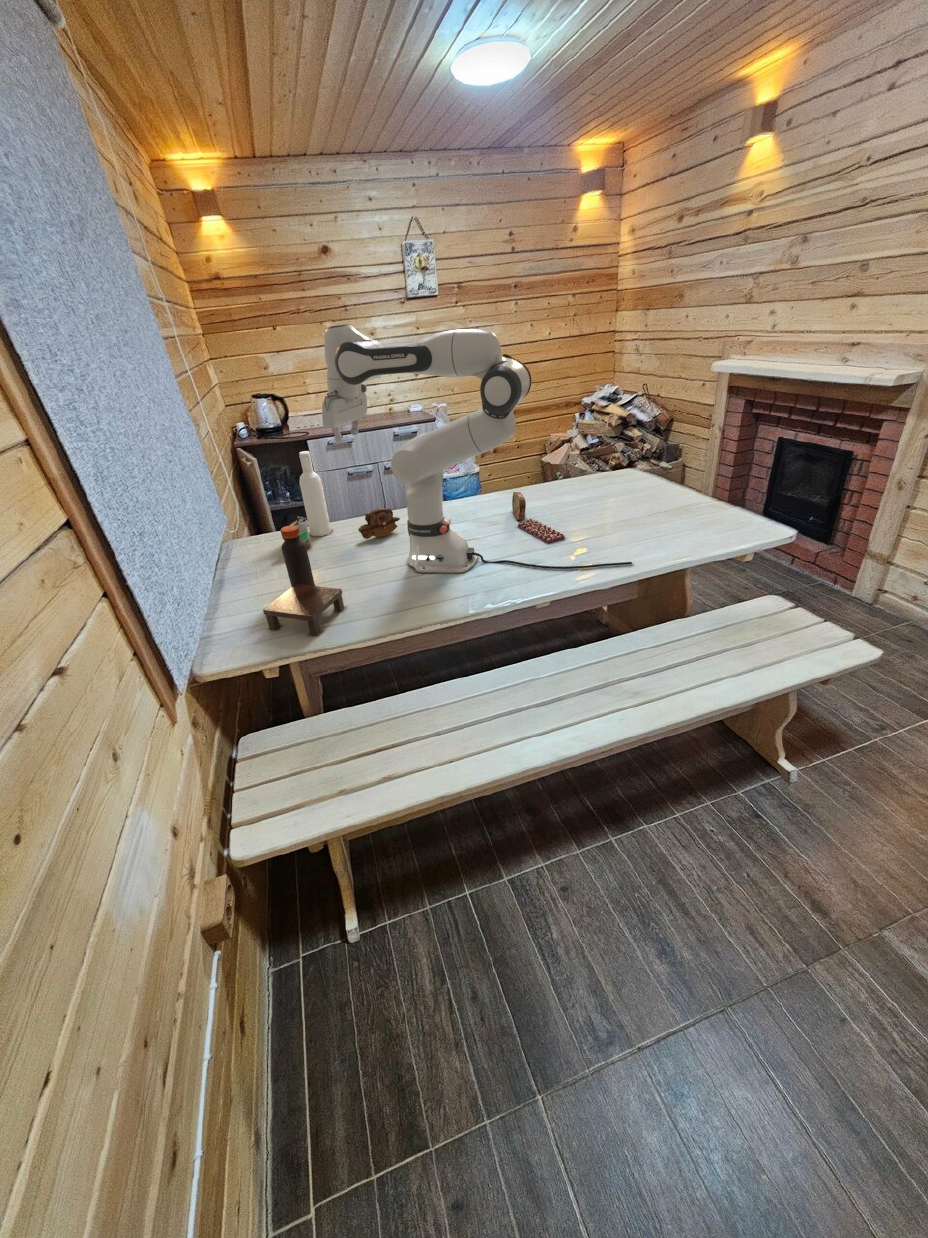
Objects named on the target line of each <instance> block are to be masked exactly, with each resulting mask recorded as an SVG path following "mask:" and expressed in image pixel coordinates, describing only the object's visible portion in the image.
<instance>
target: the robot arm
mask: <svg viewBox="0 0 928 1238" xmlns="http://www.w3.org/2000/svg"><path fill="white" fill-rule="evenodd" d="M323 341H324V342H323V345H324V346H323V347H324V348H323V349H324V361H325V364H326V367H327V369H326V371H327V372H326V384H327V392H326V394H325V396H324V398H323V401H322V404H321V405H322V407H321V416H322V417H321V418H322V425H323V427H324V428H326V429H331V432H332V433H333V435H334V441H335V442H336V443H337V442H338V443H340V442H342V441H344V437H343V436H344V435H343V434H341V433H342V432H341V431H340V430H341V427H342V426H345V425H347V424H349V423H352V424H351V428H350V434H351V435H352V436H357V435H359V427H360V423H361V419H363V418H365V417H366V416H367V412H368V402H367V401H368V400H367V394H366V393H367V392H368V386H367V384H366V383H364V382H368V381H371V380H375V379H378V378H380V377H382V376H385V375H397V374H417V375H426V376H435V377H445V378H460V377H461V378H462V377H476V378H477V379H480V380H481V382H480V386H479V393H480V398H481V406H482V407H481V408H480V409H477V410H476V411H473V412H471V413H468V414H466V415H464V416H461V417H459V418H457V419H455V420H452V421H450V422H447V423H445V424H443V425H442V426H439V427H438V428H435V429H433V430H431V431H428V432H423V433H419V434H418V435H416V436H415V437H413V438H411V439H410V440H408V441H406V442H405V443H403V444H402V445H400V446H399V447H398V448H397V450H396V451H395V452H394V454H393V455H392V457H391V461H390V469H391V472H392V474H393V476H394V477H395V478H396V479H397V480H398V481H399V482H401V483H403V484H408V487H407V490H406V494H405V501H406V513H407V522H406V523H407V532H408V537H409V553H408V559H407V563H408V565H409V566H410V567H412V568H413V569H415V571H416V572H417V573H451V574H452V573H455V574H456V573H465V572H467V571H469V570H470V569H472V567H474V565H475V564H476V562H477V559H478V557H479V558H480V560H481V562H482V563H484V564H503V563H505V564H506V563H507V564H512V565H513V564H514V565H520V566H525V567H531V568H537V569H538V568H539V569H549V570H551V569H552V570H574V569H589V568H591V569H592V568H599V567H600V568H601V567H611V566H624V565H625V566H626V565H632V564H633V561H623V562H610V563H599V564H598V563H597V564H589V565H588V564H587V565H571V566H570V565H569V566H560V565H559V566H556V565H555V566H554V565H540V564H531V563H525V562H520V561H515V560H509V559H507V560H506V559H503V560H494V561H488V560H485V559H484V556H483V555H482V554H480V553H478V552H475V547H469V544H468V542H467V540H466V538H464V537H462V536H461V535H459V534H458V533H457V532H455V531H453V530H452V529H451V528H450V527H451V526H450V524H451V521H452V519H448V520H447V518H445V516H444V509H443V508H444V507H443V483H444V474H445V473H444V472H445V471H446V470H448V469H449V468H452V467H453V466H455V465H457V464H460V463H462V462H464V461H467V460H469V459H472V458H473V457H476V456H479V455H482V454H485V453H486V452H489V451H491V450H493V449H496V448H497V447H499V446H501V445H503V444H504V443H506V442H507V441H509V440H511V439H512V438H513V436H514V435H515V433H516V431H517V420H516V416H515V413H514V412H515V408H516V407H517V406H518V405H520V404H521V402H522V401H523V400H524V399H525V398H526V397H527V396H528V394H529V392H530V390H531V386H532V374H531V372H530V369H529V368H528V367H527V366H526V365H525V364H524V363H523V362H522V361H520V360H518V359H516V358H514V357H512V356H510V355H509V354H507V353H503V354H502V347H501V343H500V340H499V338H498V336H497V335H496V333H494V332H493V331H490V330H485V329H477V328H476V329H475V328H459V329H449V330H444V331H440V332H437V333H434V334H430V335H428V336H426V337H423V338H421V339H418V340H416V341H413V342H410V343H407V344H403V345H396V346H386V345H384V343H382V342H380V341H378V340H375V339H373V338H371V337H368V336H366V335H364V334H363V333H361V332H359V331H358V330H357V329H356V328H355V327H354V326H353V325H352V324H349V323H345V324H337V325H331V326H329V327H327V328H326V329H325V332H324V338H323Z"/></svg>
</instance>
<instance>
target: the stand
mask: <svg viewBox="0 0 928 1238" xmlns="http://www.w3.org/2000/svg"><path fill="white" fill-rule="evenodd" d="M332 604H333V609H334V611H335V612H342V611H343V610H344V609H345V604H344V599H343V590H342V588H337V587H336V588H335V587H334V588H333V587H327V586H326V587H325V586H318V585H315V586H309V585H300V584H294V585H293V586H292V587H291V586H290V587H289V588H288V589H287V590H286V591H284V592H283V593H282V594H281V595H280V596H279V597H277V598H276V599H274V600H273V601H272V602H271V603H270V604H268V605H267V606H266V607H265V608H263V609H262V611H263V615H265V618H266V622H267V625H268V629H269V630H276V631H277V629H279V628H280V627H281V624H280V620H279V618H285V619H291V620H292V619H293V620H300V621H306V622H307V627H308V631H309V634H310V636H318V635H319V634H320V633H321V632H322V631H321V625H320V621H319V617H320V616H322V614H323V613H324V612H325V611H326V610H327V609H328V608H329V607H330V606H332Z"/></svg>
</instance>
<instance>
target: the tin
mask: <svg viewBox="0 0 928 1238" xmlns="http://www.w3.org/2000/svg"><path fill="white" fill-rule="evenodd" d="M511 500H512V501H511V504H512V505H511V507H512V513H513V515H514V517H515V519H516V520H524V519H525V518H526V508H527V505H526V504H527V503H526V502H527V501H526V499H525V497H524V495H523V493H522V492H520V491H513V494H512V499H511Z"/></svg>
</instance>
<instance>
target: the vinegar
mask: <svg viewBox="0 0 928 1238" xmlns="http://www.w3.org/2000/svg"><path fill="white" fill-rule="evenodd" d="M280 534H281V537H282V540H283V542H282V545H281V547H280V548H281V551H282V556H283V558H284V559H283V560H284V565H285V567H286V571H287V575H288V579H289V582H290V588H291V587H292V586H293V585H294V584H300V585H309V586H316V583H315V578H314V575H313V571H312V566H311V561H310V557H309V552H308V550H307V548H306V544H305V542H304V541H303V540H301V539H300V538H299V537H300V533H299V528H298V526H295V525H291V526H288V525H286V526H282V527H281V529H280Z"/></svg>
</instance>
